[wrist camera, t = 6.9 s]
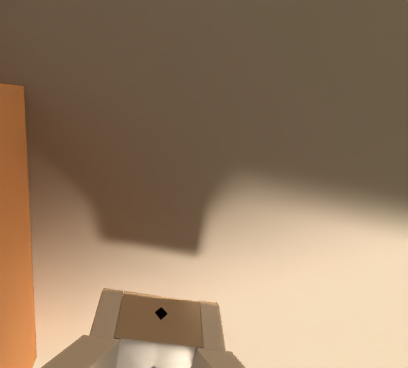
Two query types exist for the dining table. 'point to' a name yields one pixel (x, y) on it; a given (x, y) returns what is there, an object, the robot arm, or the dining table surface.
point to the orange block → (15, 236)
